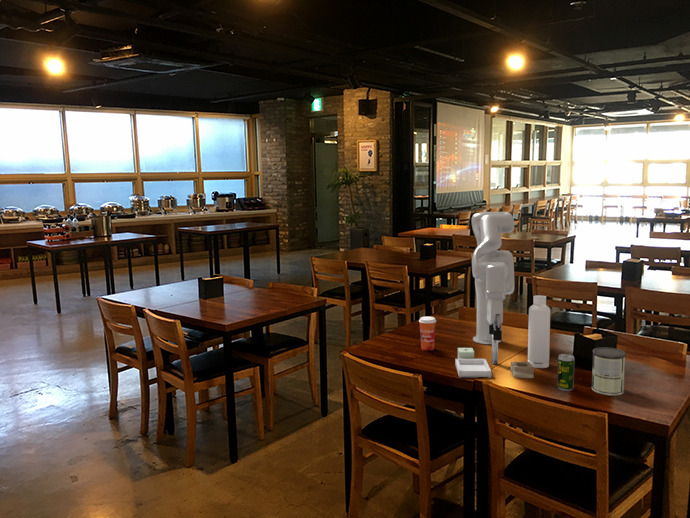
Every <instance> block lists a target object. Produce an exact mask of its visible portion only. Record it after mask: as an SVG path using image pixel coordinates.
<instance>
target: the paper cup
mask: <svg viewBox="0 0 690 518" xmlns="http://www.w3.org/2000/svg"><path fill="white" fill-rule="evenodd" d="M418 322H419V334H420V346H421V347H420V348H421V350H422V351H427V352H428V350H430V351H434V350H435V341H436V340H435V337H436V323H437V320H436V318H435V317H434V316H421V317H420V318H419V320H418Z"/></svg>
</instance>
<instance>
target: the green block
mask: <svg viewBox="0 0 690 518" xmlns="http://www.w3.org/2000/svg"><path fill="white" fill-rule="evenodd" d="M457 359H475V350H474V349H473V347H457Z"/></svg>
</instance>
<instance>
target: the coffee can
mask: <svg viewBox="0 0 690 518" xmlns="http://www.w3.org/2000/svg"><path fill="white" fill-rule="evenodd" d="M626 356H627V355H626V352H625V351H624V350H621V349H619V348H614V347H604V346H603V347H600V346H599V347H595V348H593V349H592V372H591V373H592V375H591V389H592V391H594V392H595V393H597V394H600V395H604V396H611V397H612V396H620V395H623V394H624V393H625V391H624V390H625V367H626V366H625V365H626V364H625V363H626Z"/></svg>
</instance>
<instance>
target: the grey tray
mask: <svg viewBox="0 0 690 518" xmlns="http://www.w3.org/2000/svg"><path fill="white" fill-rule="evenodd" d="M454 360H455V361H454V362H455V364H454V365H455V368H456V371H457V374H458V378H478V377H488V379H489V378H492V370H491V368H490V365H489V364H488V360H487V359H486V358H474V359H458V358H455V359H454Z"/></svg>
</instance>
